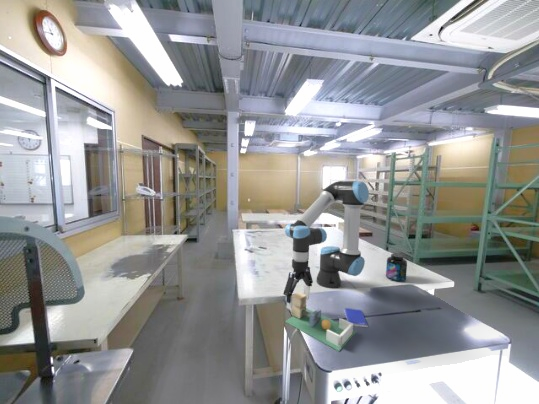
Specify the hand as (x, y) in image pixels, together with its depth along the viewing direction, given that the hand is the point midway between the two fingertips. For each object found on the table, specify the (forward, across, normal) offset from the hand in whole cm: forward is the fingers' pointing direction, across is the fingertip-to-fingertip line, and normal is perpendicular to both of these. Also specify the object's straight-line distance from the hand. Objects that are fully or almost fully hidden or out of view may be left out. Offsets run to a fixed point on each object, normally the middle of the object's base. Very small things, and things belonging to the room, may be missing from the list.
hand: (298, 303), depth 108 cm
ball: (+4, 0, +14) cm, 15 cm away
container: (+5, -83, +21) cm, 86 cm away
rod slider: (+5, 0, +4) cm, 7 cm away
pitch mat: (+6, 0, +12) cm, 13 cm away
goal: (+6, 0, +21) cm, 22 cm away
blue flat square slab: (+7, -18, +20) cm, 28 cm away
